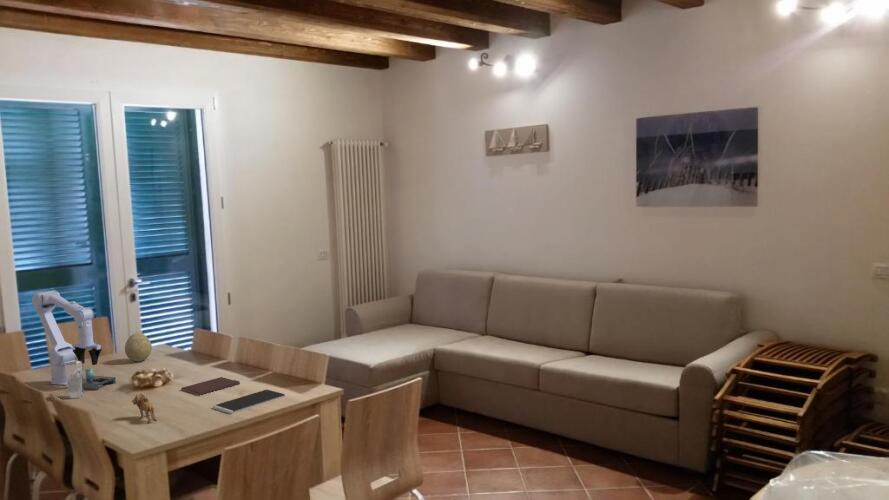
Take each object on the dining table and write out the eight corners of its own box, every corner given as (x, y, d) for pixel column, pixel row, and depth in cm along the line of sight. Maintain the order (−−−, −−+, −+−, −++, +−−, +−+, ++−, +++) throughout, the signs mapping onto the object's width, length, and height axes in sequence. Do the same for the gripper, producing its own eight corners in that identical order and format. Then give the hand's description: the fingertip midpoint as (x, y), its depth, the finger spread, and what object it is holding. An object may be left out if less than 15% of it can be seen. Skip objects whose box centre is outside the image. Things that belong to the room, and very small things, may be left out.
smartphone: (287, 397, 281) (287, 393, 281) (231, 415, 260) (230, 411, 260) (267, 392, 290) (267, 388, 289) (211, 409, 269) (211, 405, 269)
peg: (83, 386, 307) (82, 370, 306) (90, 383, 311) (88, 368, 310) (90, 386, 306) (89, 370, 305) (97, 384, 310) (96, 368, 309)
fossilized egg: (130, 358, 356) (128, 331, 354) (155, 357, 357) (153, 329, 356) (122, 365, 343) (119, 336, 342) (148, 363, 345) (145, 334, 343)
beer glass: (67, 400, 287) (63, 365, 285) (67, 396, 293) (64, 362, 291) (85, 397, 290) (82, 363, 288) (85, 393, 296) (82, 359, 294)
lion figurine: (131, 417, 261) (129, 394, 260) (144, 413, 265) (143, 391, 265) (150, 424, 252) (148, 401, 251) (164, 420, 256) (162, 397, 255)
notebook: (181, 391, 296) (181, 386, 295) (221, 380, 311) (221, 375, 310) (199, 397, 286) (199, 392, 286) (240, 385, 301) (239, 381, 301)
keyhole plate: (74, 388, 304) (73, 382, 304) (94, 381, 315) (93, 375, 314) (96, 390, 300) (96, 384, 300) (115, 383, 310) (115, 377, 310)
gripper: (105, 333, 307) (107, 362, 309) (80, 332, 312) (83, 361, 313) (92, 337, 301) (95, 366, 302) (67, 335, 306) (70, 365, 307)
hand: (88, 364), depth 307 cm, fingers open, 7 cm apart
